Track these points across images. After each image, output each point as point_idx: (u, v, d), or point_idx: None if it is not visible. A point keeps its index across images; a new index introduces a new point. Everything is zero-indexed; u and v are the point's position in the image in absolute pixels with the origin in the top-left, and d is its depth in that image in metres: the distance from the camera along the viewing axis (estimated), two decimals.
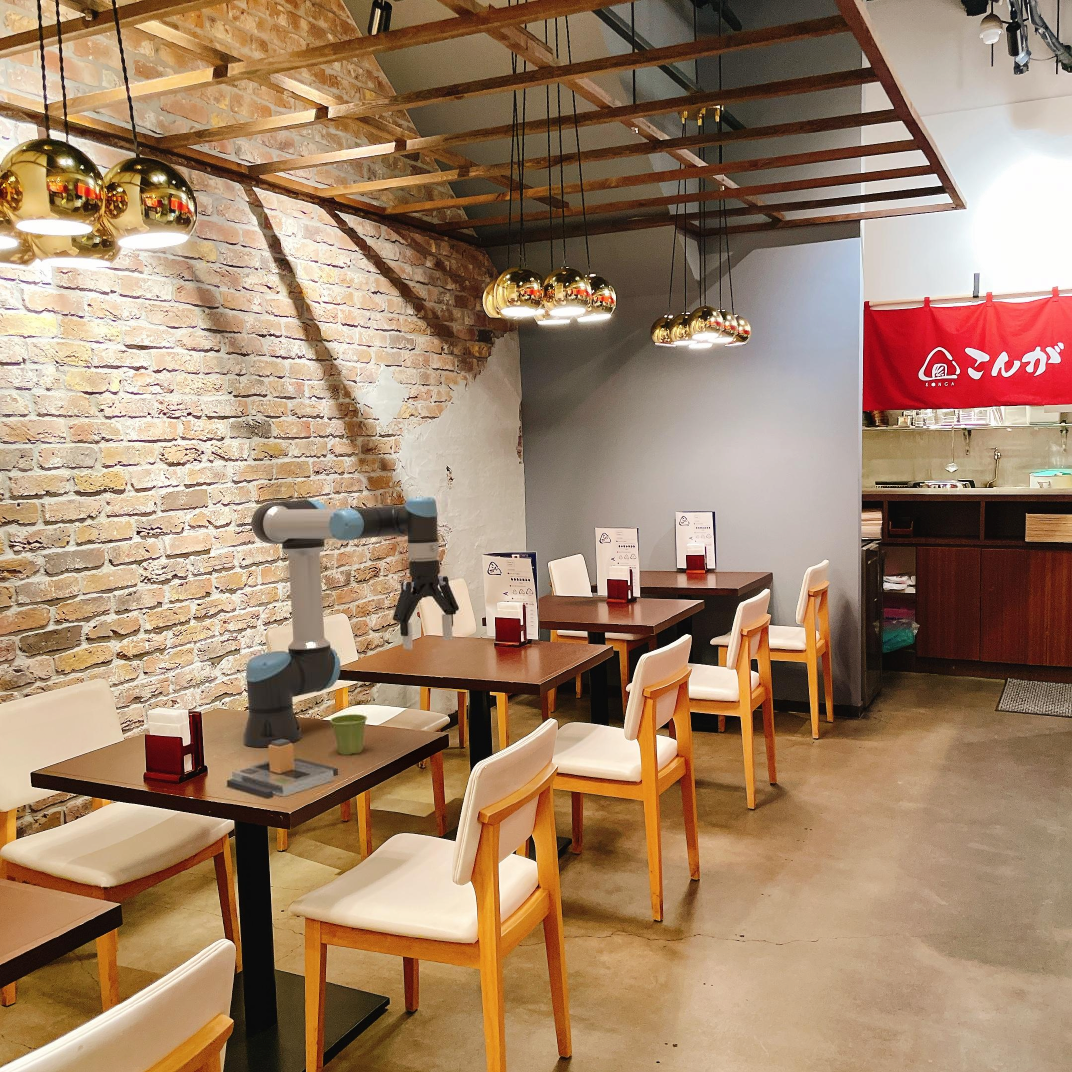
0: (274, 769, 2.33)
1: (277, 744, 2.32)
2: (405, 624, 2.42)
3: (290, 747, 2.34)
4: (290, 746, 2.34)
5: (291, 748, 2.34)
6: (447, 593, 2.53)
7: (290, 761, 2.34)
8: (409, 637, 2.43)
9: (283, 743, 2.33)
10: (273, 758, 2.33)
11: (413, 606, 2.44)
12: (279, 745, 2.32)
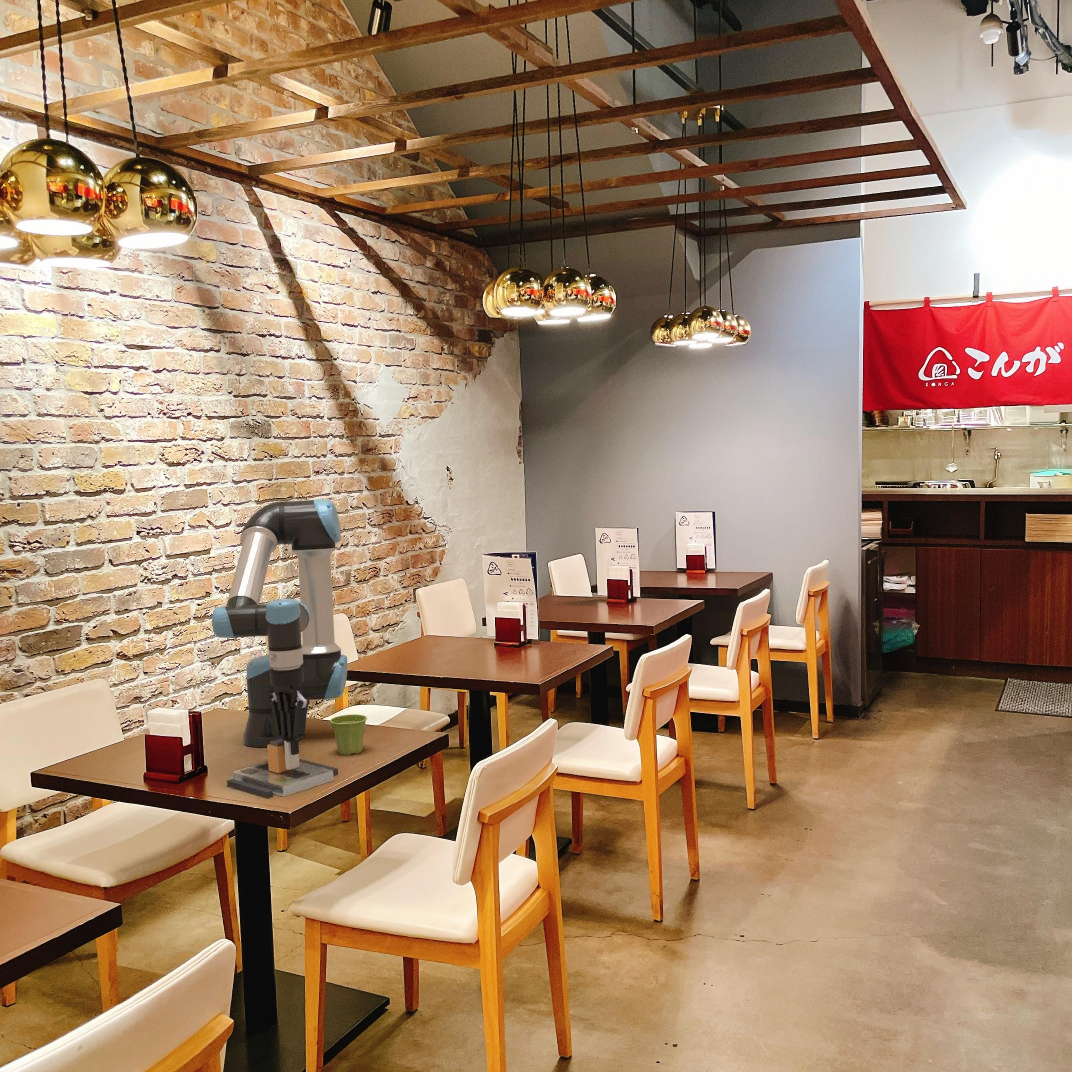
0: (273, 769, 2.33)
1: (276, 744, 2.33)
2: (284, 741, 2.32)
3: None
4: None
5: None
6: None
7: None
8: None
9: (282, 743, 2.33)
10: (272, 758, 2.33)
11: (281, 720, 2.31)
12: (278, 745, 2.32)
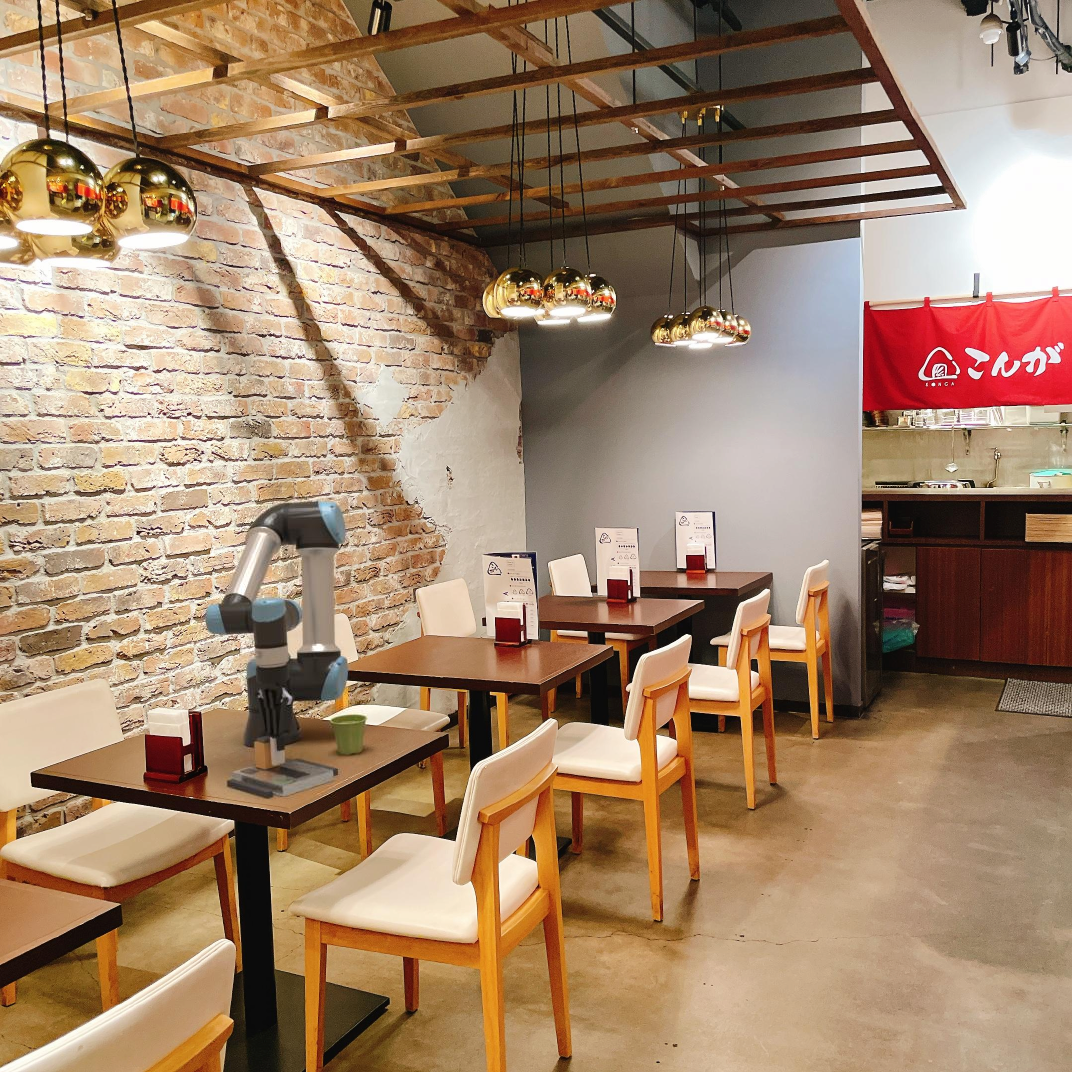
0: (260, 765, 2.37)
1: (262, 741, 2.36)
2: None
3: None
4: None
5: None
6: None
7: None
8: None
9: (268, 740, 2.37)
10: (259, 755, 2.37)
11: (267, 717, 2.35)
12: (264, 741, 2.36)
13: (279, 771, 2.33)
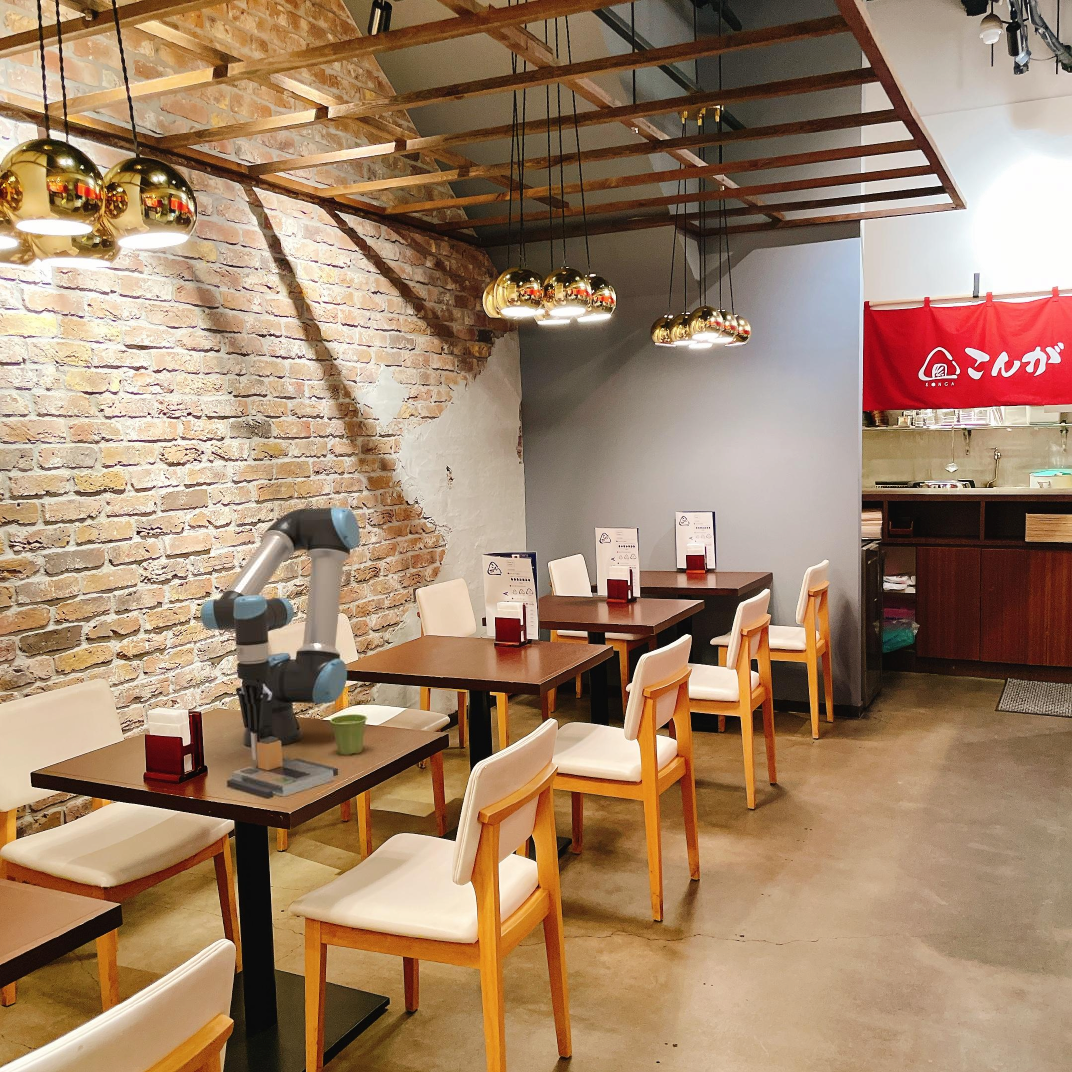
0: (262, 766, 2.36)
1: (265, 741, 2.35)
2: (251, 732, 2.40)
3: (278, 744, 2.37)
4: (278, 743, 2.37)
5: (280, 745, 2.37)
6: None
7: (278, 758, 2.37)
8: None
9: (271, 740, 2.36)
10: (262, 756, 2.36)
11: (248, 713, 2.39)
12: (267, 742, 2.35)
13: (279, 771, 2.33)
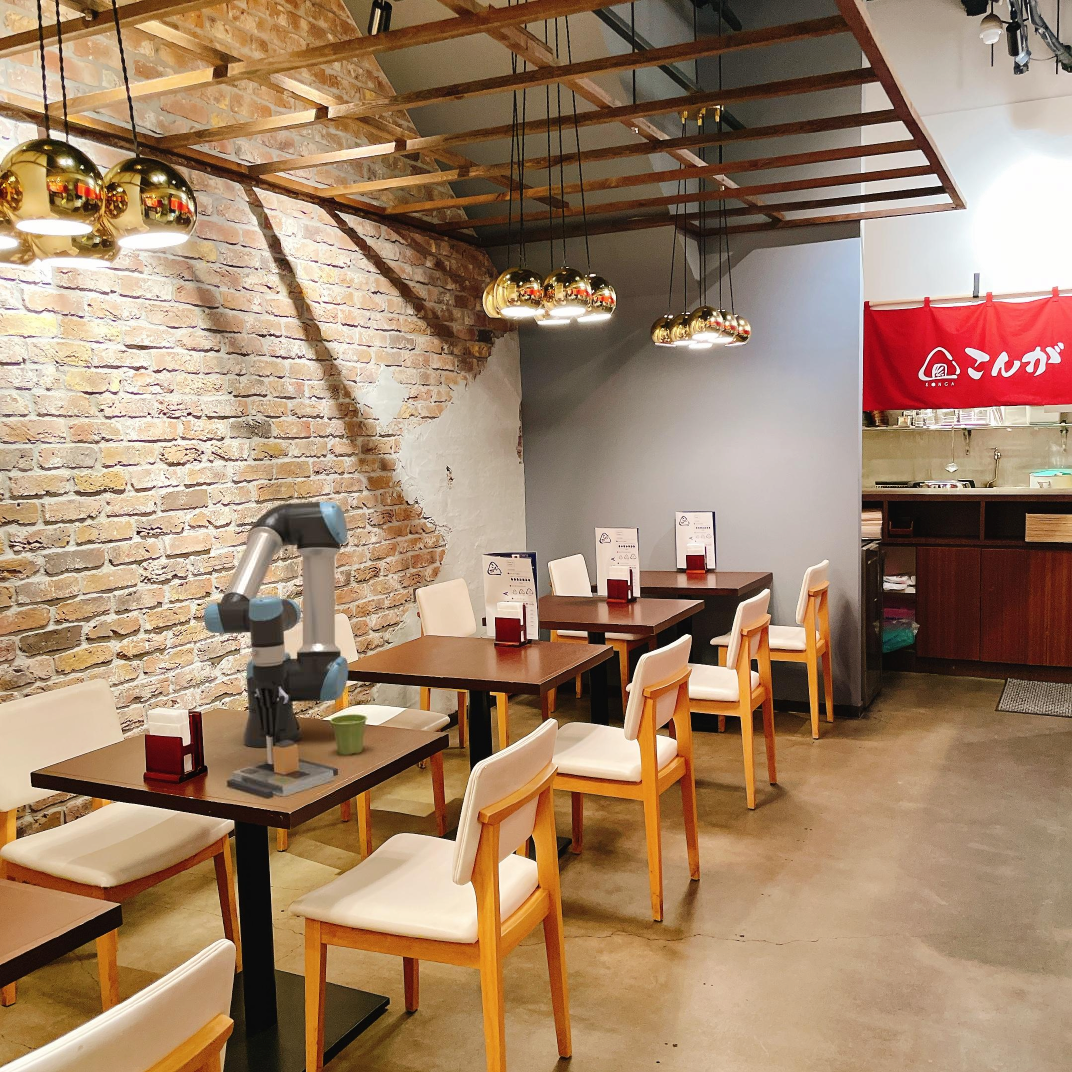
0: (278, 770, 2.32)
1: (281, 745, 2.31)
2: (267, 736, 2.36)
3: (295, 748, 2.33)
4: (295, 747, 2.33)
5: (296, 749, 2.33)
6: None
7: (295, 762, 2.33)
8: None
9: (288, 744, 2.32)
10: (278, 760, 2.32)
11: (263, 716, 2.35)
12: (284, 746, 2.31)
13: None
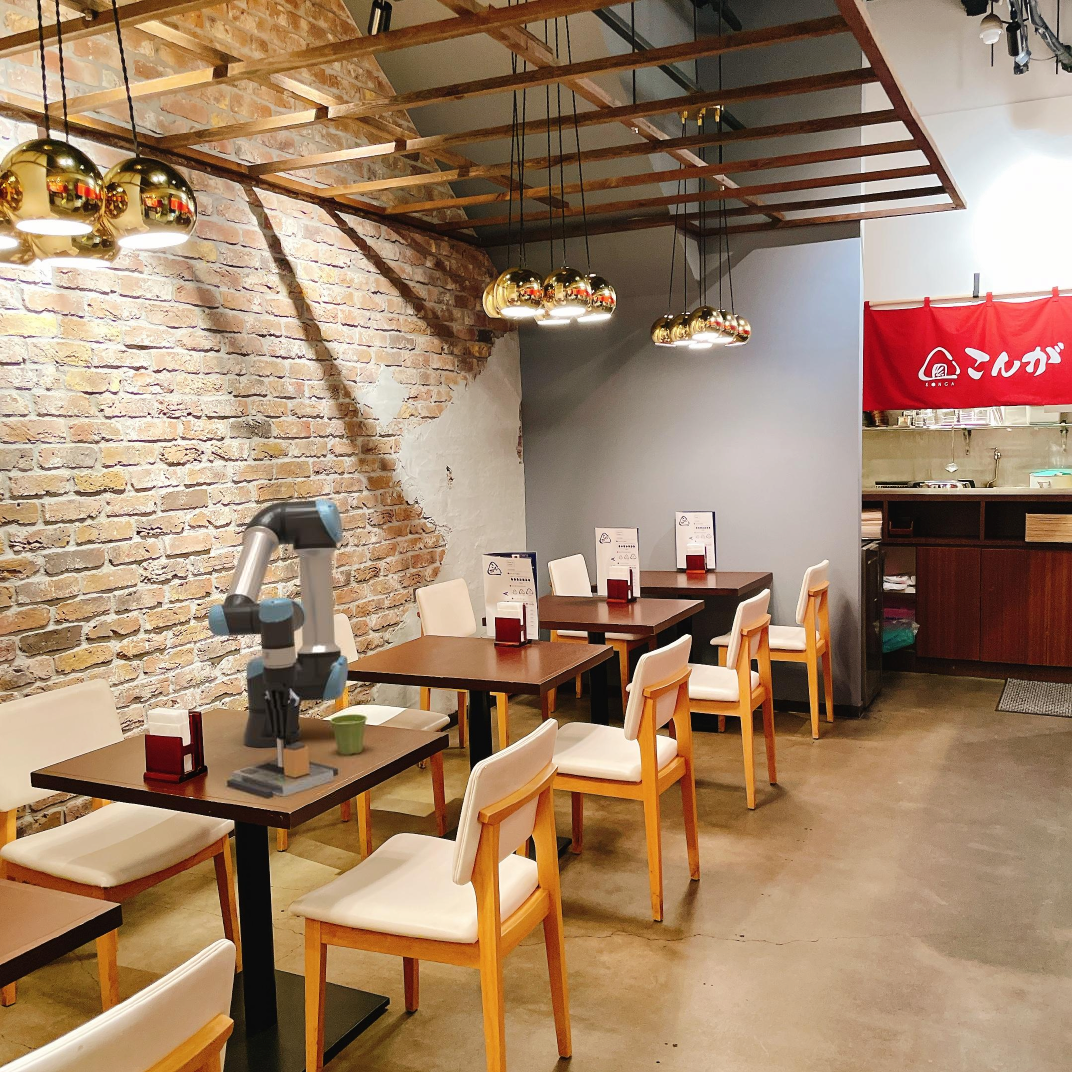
0: (289, 773, 2.29)
1: (292, 748, 2.29)
2: (277, 738, 2.33)
3: (305, 751, 2.30)
4: (305, 750, 2.30)
5: (306, 752, 2.30)
6: None
7: (305, 765, 2.30)
8: None
9: (298, 747, 2.29)
10: (288, 762, 2.29)
11: (274, 718, 2.33)
12: (294, 749, 2.28)
13: (279, 771, 2.33)
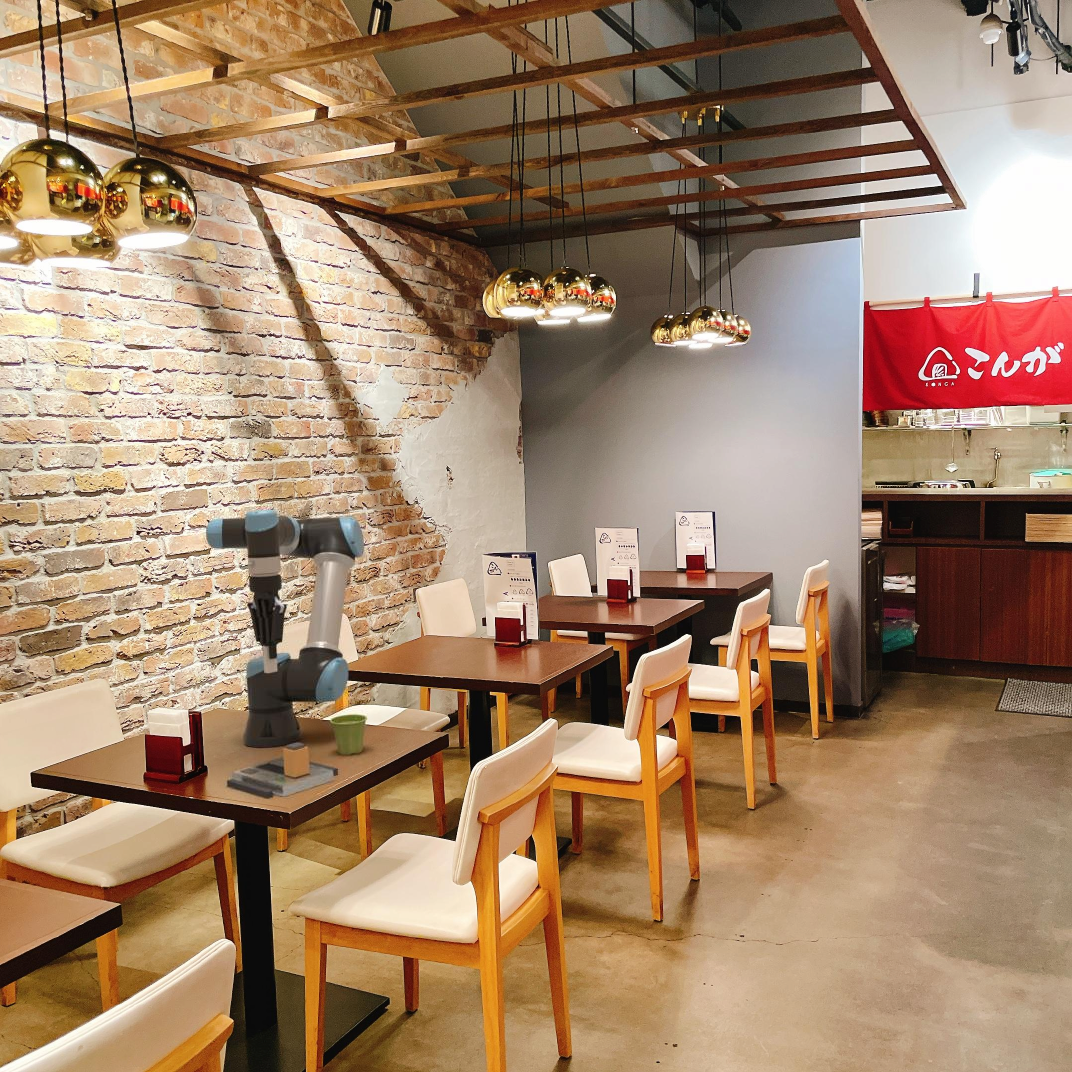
0: (289, 773, 2.29)
1: (292, 748, 2.29)
2: (263, 646, 2.41)
3: (305, 751, 2.30)
4: (305, 750, 2.30)
5: (306, 752, 2.30)
6: None
7: (305, 765, 2.30)
8: None
9: (298, 747, 2.29)
10: (288, 762, 2.29)
11: (260, 626, 2.41)
12: (294, 749, 2.28)
13: (279, 771, 2.33)
